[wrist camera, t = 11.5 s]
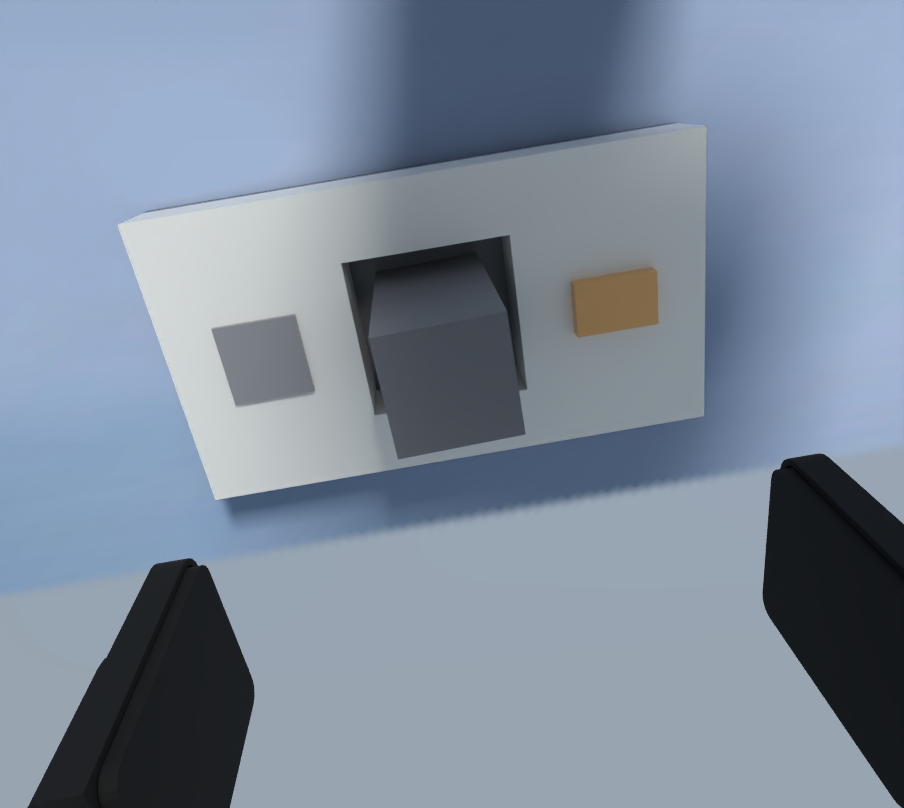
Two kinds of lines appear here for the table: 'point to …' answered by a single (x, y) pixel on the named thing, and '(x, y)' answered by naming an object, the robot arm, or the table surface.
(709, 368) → the table surface
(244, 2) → the table surface
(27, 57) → the table surface
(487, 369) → the block
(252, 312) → the switch panel
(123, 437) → the table surface
